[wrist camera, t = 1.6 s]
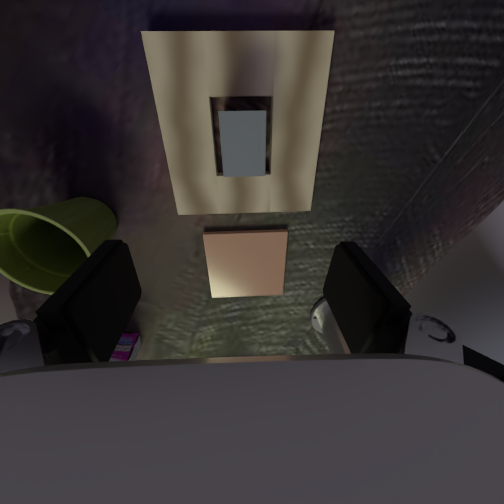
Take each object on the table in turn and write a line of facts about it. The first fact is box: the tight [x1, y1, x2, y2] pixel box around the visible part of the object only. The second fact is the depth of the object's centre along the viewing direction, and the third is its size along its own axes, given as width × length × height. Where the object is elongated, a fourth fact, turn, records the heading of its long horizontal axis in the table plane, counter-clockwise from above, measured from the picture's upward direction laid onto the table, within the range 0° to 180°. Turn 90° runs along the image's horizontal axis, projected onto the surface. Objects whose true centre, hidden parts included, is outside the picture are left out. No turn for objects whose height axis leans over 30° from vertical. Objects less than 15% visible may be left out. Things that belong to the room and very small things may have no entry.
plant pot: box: [0, 197, 117, 295], centre depth 30 cm, size 12×12×11 cm
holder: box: [141, 31, 334, 215], centre depth 29 cm, size 20×20×2 cm
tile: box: [203, 229, 288, 298], centre depth 41 cm, size 14×14×1 cm
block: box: [218, 111, 266, 177], centre depth 26 cm, size 4×6×9 cm
